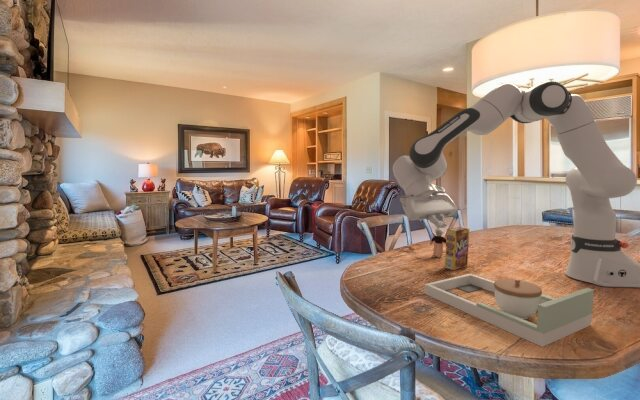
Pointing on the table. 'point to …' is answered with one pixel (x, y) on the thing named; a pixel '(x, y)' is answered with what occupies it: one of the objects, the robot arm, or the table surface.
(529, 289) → the lidded jar
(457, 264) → the candy box
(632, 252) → the table surface
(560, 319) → the open rectangular frame
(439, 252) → the grandmother figurine
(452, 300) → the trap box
